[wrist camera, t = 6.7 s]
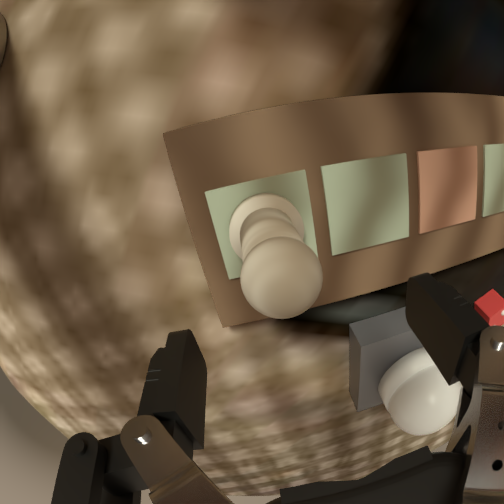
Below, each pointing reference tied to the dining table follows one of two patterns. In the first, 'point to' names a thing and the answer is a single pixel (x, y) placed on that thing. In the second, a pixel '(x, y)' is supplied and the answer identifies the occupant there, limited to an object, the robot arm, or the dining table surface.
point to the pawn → (274, 256)
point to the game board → (349, 186)
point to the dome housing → (377, 353)
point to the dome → (418, 394)
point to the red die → (491, 308)
